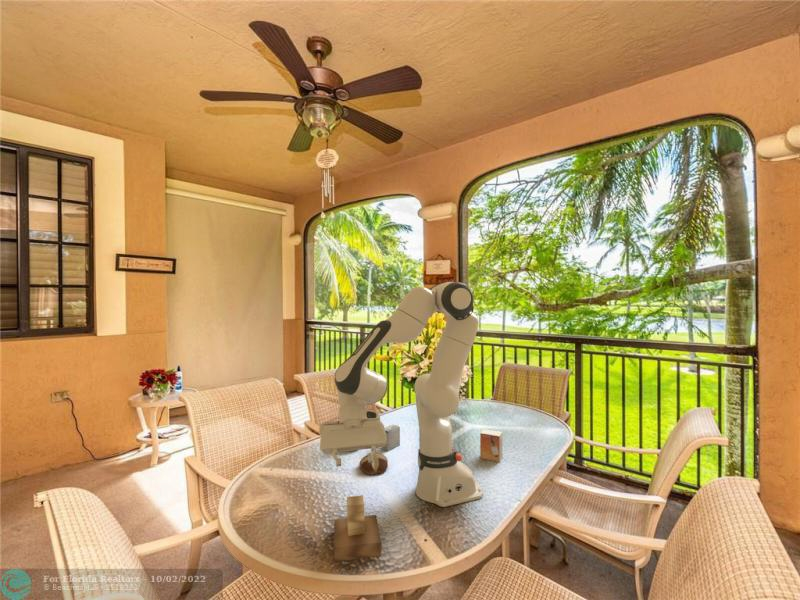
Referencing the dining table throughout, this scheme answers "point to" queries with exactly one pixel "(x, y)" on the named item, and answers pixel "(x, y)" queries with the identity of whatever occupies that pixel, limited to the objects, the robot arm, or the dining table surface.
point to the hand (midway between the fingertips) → (355, 464)
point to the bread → (374, 464)
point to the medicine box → (392, 437)
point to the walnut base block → (356, 540)
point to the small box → (491, 445)
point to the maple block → (355, 515)
